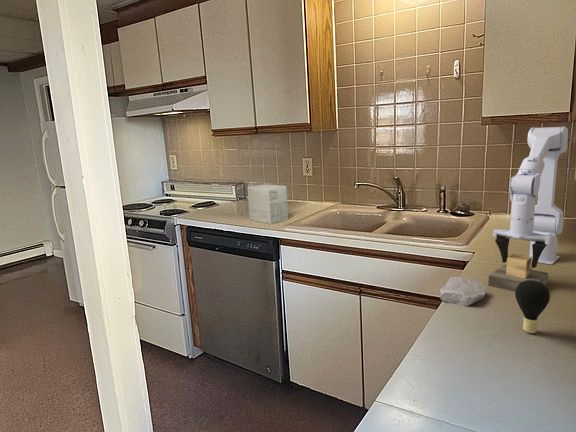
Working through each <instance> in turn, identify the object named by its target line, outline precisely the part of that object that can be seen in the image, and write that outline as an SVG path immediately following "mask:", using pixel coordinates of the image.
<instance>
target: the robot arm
mask: <svg viewBox="0 0 576 432" xmlns="http://www.w3.org/2000/svg"><path fill="white" fill-rule="evenodd" d="M568 139H569V129H568V127H566V125H565V126H552V127H551V126H549V127H548V126H547V127H531V128H530V129H529V130H528V133H527V139H526V140H527V145H528V147H529V149H530V152H529V155H528V156H527V157H525V158H524V159H523V160H522V163H521V164H520V166H519V169H518V172H517V173H516V174H515V175H514V176H511V178H510V179H509V180H510V181H509V196H510V197H509V202H511V207H510V223H509V224H510V225H509V229H502V228H501V229H500V228H499V229H498V228H495V229H493V230H492V237H494V238H496V239H495V240H494V242H495V244H496V245H497V247H498V249H499V252H500V256H501V262H502V263H507V258H508V257H509V244H510V241H511V240H521V241H525V242H529V253H528V254H529V255H528V256H529V257H532V264H531V269H532V268H533V269H535V268H536V267H537V266H538V263H539V264H546V265H553V264H554V263H555V262H556V261H557V260H558V259H559V258H560V255H557V249H558V237H557V236H558V235H559V236H560V234H562V232H563V229H564V211H563V210H562V209H561V208H559V207H558V206H556V205H555V196H556V195H555V194H556V184H557V183H556V182H557V172H558V163H559V162H558V160H559V157H560V155H561V154H563V153H566V152H567V149H568ZM536 198H537V202H536ZM536 203H537V204H536ZM510 239H511V240H510Z"/></svg>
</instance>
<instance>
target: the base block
mask: <svg viewBox="0 0 576 432" xmlns="http://www.w3.org/2000/svg"><path fill="white" fill-rule="evenodd" d="M506 268H507V264H502V265H501V266H499V268H497V269H496V270H495V271H493V272H492V273H491V274H489V275H488V283H487V285H488V286H489V287H494V288H498V289H503V290H506V291H507V290H508V291H512V292H515V291H516V288H517V286H518V285H519V284H520V283H521V282H523V281H526V280H535V281H539V282H541V283H543V284H544V285H545V286H547V284H548V279H549V272H545V271H542V270H541V271H540V270H536V269H535V270H534V269H531V274H530V275H529V276H528V277H526V278H520V277H515V276H510V275H506Z"/></svg>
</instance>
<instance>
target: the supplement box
mask: <svg viewBox="0 0 576 432" xmlns="http://www.w3.org/2000/svg"><path fill="white" fill-rule="evenodd" d="M247 198H248V199H247V200H248V213H249V214H248V215H249V221H255V222H260V223H263V224H269V225H272V224H274V223H280V222H283V221H287V220H289V209H288V191H287V185H280V184H279V185H278V184H268V183H267V184H266V183H265V184H260V185H252V186H248V187H247Z"/></svg>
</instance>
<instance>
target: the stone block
mask: <svg viewBox="0 0 576 432" xmlns="http://www.w3.org/2000/svg"><path fill="white" fill-rule="evenodd" d="M439 290H440V291H439V293H440V294H439V299H440V300H441V302H443V303H448V304H453V303H454V304H453V305H459V306H461V307H462V306H463V307H469V305H472V304H475V303H477V302H480V301H481V300H482V299H484V298H485V297H486V286H485V285H484V284H483V283H481V282H479V281H476V280H473V279H471V278H467V277H464V276H463V277H460V276H459V277H458V276H453V277H450V278H449V279H448V281H447V282H446V284H445V285H444V286H442V287H441V288H440V289H439Z"/></svg>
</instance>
